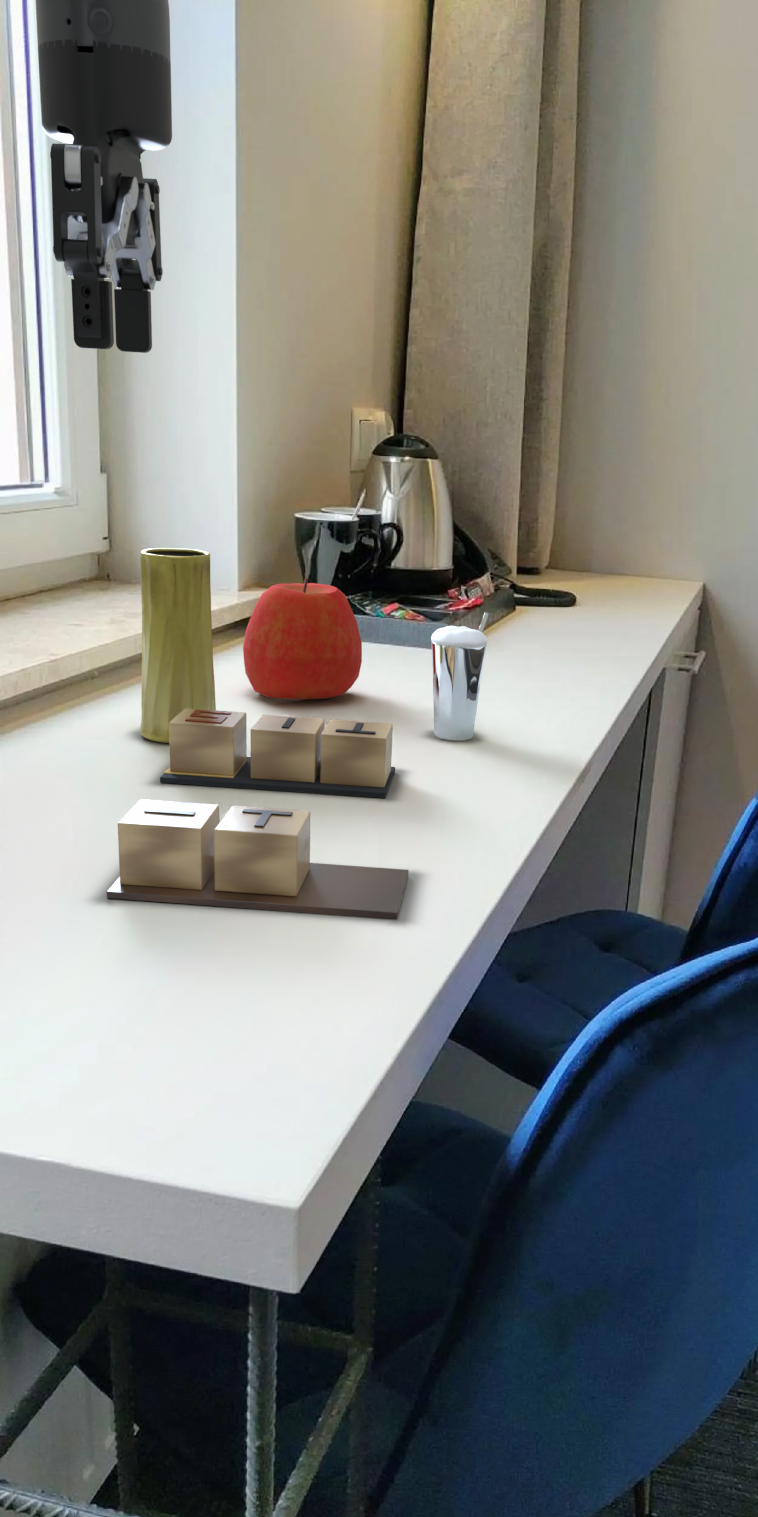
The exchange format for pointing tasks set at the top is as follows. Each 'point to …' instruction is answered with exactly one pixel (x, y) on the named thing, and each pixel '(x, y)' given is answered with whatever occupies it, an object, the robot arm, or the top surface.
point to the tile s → (207, 742)
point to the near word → (242, 862)
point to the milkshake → (457, 679)
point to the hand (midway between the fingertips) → (115, 350)
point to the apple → (302, 643)
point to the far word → (310, 758)
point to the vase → (175, 637)
